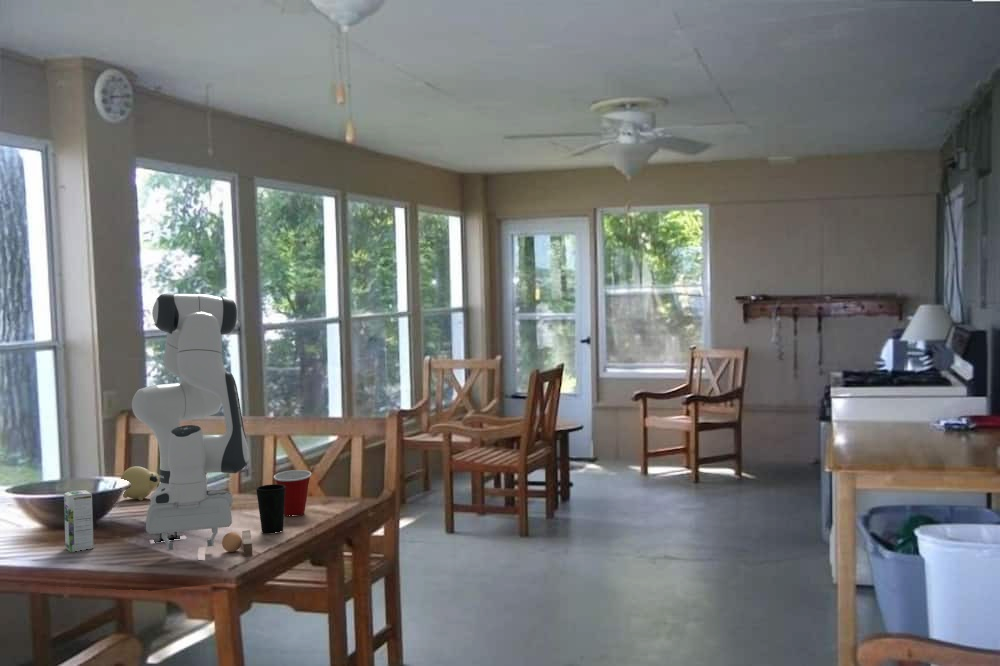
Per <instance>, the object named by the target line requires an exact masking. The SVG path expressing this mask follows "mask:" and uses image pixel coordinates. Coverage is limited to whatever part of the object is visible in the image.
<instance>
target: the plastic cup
mask: <svg viewBox="0 0 1000 666" xmlns="http://www.w3.org/2000/svg"><path fill="white" fill-rule="evenodd" d="M311 476H312V472H311V471H309V470H306V469H305V470H304V469H303V470H302V469H293V470H287V471H281V472H278V473H276V474H274V475H273V479H274V480H275V482H276V483H275V484H279V485H284V486H285V487H286V488H285V506H284V516H285V515H288V516H287V517H290V516H292V515H300V516H302V515H301V514H303V515H304V514H305V511H306V504H307V497H308V490H309V484H310V480H311V479H310V478H311ZM289 515H290V516H289ZM292 517H293V516H292Z"/></svg>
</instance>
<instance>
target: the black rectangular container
mask: <svg viewBox="0 0 1000 666" xmlns="http://www.w3.org/2000/svg"><path fill="white" fill-rule="evenodd" d="M180 535H181V534H179V535H178V532H173V534H168V537H167V538H168V540H174V539H180ZM152 539H153V540H154V542H155V543H156V542H161V541H164V540H163V539H162V533H158V537H155V538H152ZM156 544H157V543H156Z"/></svg>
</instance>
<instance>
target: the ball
mask: <svg viewBox="0 0 1000 666" xmlns="http://www.w3.org/2000/svg"><path fill="white" fill-rule="evenodd" d="M241 536H242V535H240V534H239V533H238V532H232V531H231V532H228V533H226V534H224V535H223V538H222V540H221V546H222V548H223V549H224V550H225V551H226V552H229V553H230V552H231V553H233V552H236V551H238V550H239V549H240V548H241V547H242V545H243V539H242V537H241Z"/></svg>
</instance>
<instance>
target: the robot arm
mask: <svg viewBox="0 0 1000 666" xmlns="http://www.w3.org/2000/svg"><path fill="white" fill-rule="evenodd" d="M151 314H152V320H153V322H154V326H155V327H156V328H157V329H158V330H159V331H162V332H165V333H166V339H165V347H164V353H163V354H164V355H163V365H164V367H165V370H166V371H167V372H168V373H170V374H171V375H173V376H174V377H178V378H179V379H180V380H179V381H178V382H174V383H173V382H172V383H163V384H152V385H148V386H146V387H142V388H139V389H138V390H137V391H136V392H135V393H134V396H133V397H132V399H131V409H132V413H133V414H134V416H135V418H136V419H137V420H138V421H140V422H141V423H143V424H144V425H146V426H147V427H148V428H149V429H150V430H151V432H152V433H153V434H154V436H155V438H156V441H157V444H158V449H159V451H158V452H159V457H160V469H159V470H158V471H159V473H158V475H159V478H160V482H159V484H158V485H157V486H156V487H155V489H154V491H153V492H151V493H150V498H149V499H150V505H149V506H148V508H147V512H146V518H145V531H146V533H147V534H149V535H155V534H159V533H162V534H161V536H162V539H163V540H164V541H165V542H164V543H165V544H166V551H174V548H175V547H174V546H175V545H174V541H171V542H170V541H169V540H168V538H167V537H168V536H169V533H174V532H177V533H178V532H188V531H189V532H190V531H198V530H211V533H212V535H211V537H208V538H207V539H206V540H207V541H206V542H207V544H206V548H207V547H208V548H209V547H214V543H215V542H214V540H215V538H216V536H217V534H218V530H219V529H221V528H229V527H231V526H232V525H231V524H233V517H232V516H233V515H232V511H231V510H232V509H231V507H232V505H233V501H234V499H233V497H234V496H233V494H232V492H230V491H228V490H226V489H219V490H215V489H214V490H213V489H211V490H209V486H208V482H207V481H208V479H207V475H206V474H207V473H209V474H211V473H224V474H237V473H239V472H241V471H242V470H243V469H244V468H245V467H246V466H247V465H248V464H249V460H250V450H249V449H250V448H249V445H248V442H247V437H246V434H245V427H244V423H243V414H242V408H241V403H240V402H241V401H240V397H239V392H238V386H237V384H236V383H237V382H236V378H235V377H234V375H233V374H232V373H231V372H230V371H227V368H226V367H225V365H224V363H223V349H222V348H223V346H222V345H223V344H222V343H223V341H222V335H226V334H230V333H232V332H233V331H234V330H235V328H236V325H237V322H238V319H239V313H238V307H237V305H236V302H235V301H234V300H233V298H230V297H226V296H221V295H220V296H217V295H211V294H204V293H197V294H196V293H175V294H174V293H173V292H168V293H162V294H160V295H159V296H158V297H157V298H156V300H155V302H154V304H153V306H152V313H151ZM221 408H222V411H223V417H224V424H225V433H223V434H222V433H221V434H203V433H204V432H203V429H202V428H201V426H198V425H194V424H186V425H180V422H181V421H188V420H189V421H190V420H197V419H204V418H206V417H207V418H208V417H210V416H213V415H217V414H218V413H219V411H220V409H221Z"/></svg>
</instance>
